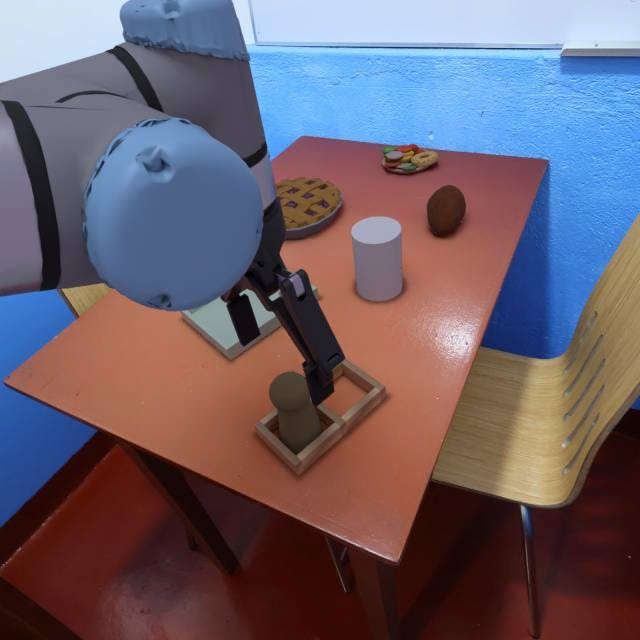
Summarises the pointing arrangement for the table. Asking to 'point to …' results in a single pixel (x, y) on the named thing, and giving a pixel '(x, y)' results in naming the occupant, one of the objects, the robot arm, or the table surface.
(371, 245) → the cup
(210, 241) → the robot arm
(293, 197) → the pie
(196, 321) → the tray
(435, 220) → the potato
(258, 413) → the table surface
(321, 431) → the brown pawn
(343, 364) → the two-slot wooden frame
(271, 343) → the table surface
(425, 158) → the toy food set
